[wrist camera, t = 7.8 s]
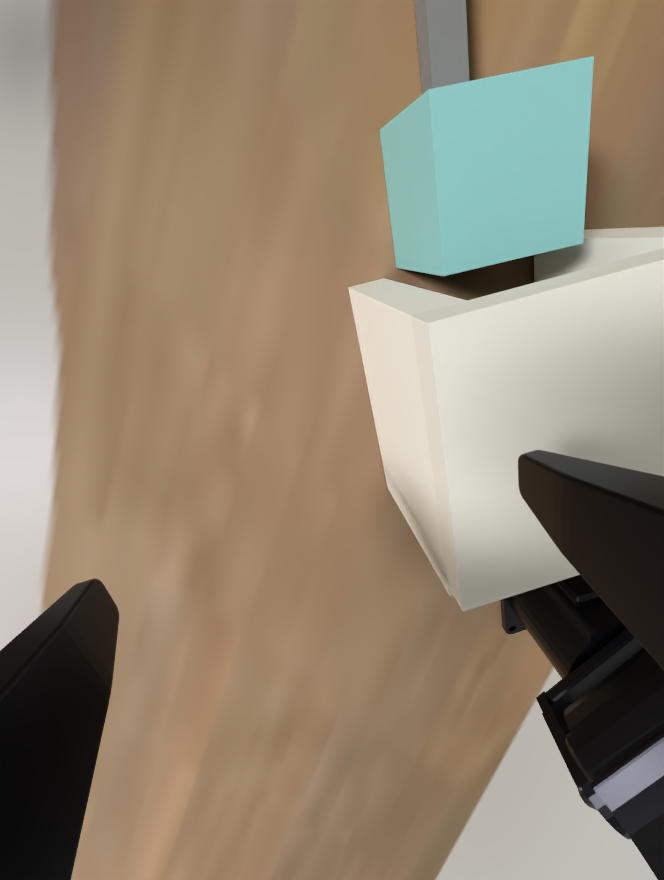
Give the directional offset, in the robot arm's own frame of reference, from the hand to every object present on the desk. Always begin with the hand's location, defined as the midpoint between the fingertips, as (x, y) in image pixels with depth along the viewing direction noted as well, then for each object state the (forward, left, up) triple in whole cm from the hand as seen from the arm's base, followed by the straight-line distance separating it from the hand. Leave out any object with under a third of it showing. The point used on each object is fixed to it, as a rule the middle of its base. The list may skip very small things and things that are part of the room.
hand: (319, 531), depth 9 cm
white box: (-2, -9, -12) cm, 15 cm away
